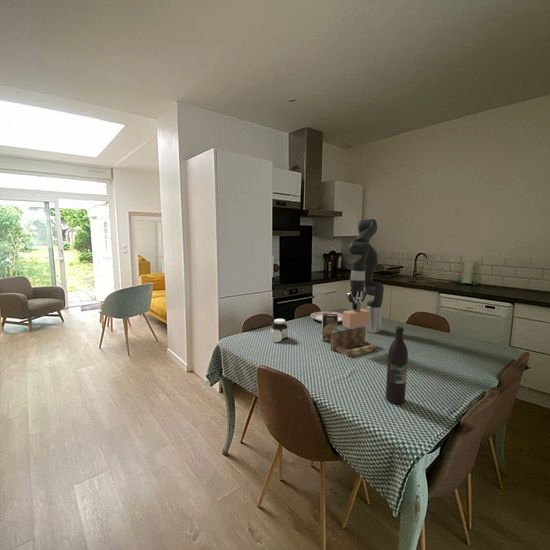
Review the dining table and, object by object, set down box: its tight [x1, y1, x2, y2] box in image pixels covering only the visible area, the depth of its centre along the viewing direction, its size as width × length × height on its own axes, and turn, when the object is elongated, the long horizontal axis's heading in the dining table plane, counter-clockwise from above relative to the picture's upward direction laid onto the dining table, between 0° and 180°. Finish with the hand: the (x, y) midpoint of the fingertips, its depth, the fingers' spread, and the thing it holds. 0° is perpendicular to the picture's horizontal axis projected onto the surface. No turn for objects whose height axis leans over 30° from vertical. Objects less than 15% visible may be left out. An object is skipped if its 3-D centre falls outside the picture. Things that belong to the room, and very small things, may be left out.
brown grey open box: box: [330, 325, 376, 358], centre depth 167 cm, size 24×12×11 cm, turn 118°
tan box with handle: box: [341, 302, 370, 328], centre depth 164 cm, size 14×6×13 cm, turn 118°
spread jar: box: [270, 318, 289, 343], centre depth 182 cm, size 12×11×12 cm
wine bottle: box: [385, 325, 409, 405], centre depth 115 cm, size 7×7×30 cm
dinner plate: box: [310, 311, 343, 323], centre depth 226 cm, size 28×27×3 cm
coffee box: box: [320, 313, 339, 343], centre depth 181 cm, size 9×6×16 cm
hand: (356, 309), depth 164 cm, fingers closed on tan box with handle
